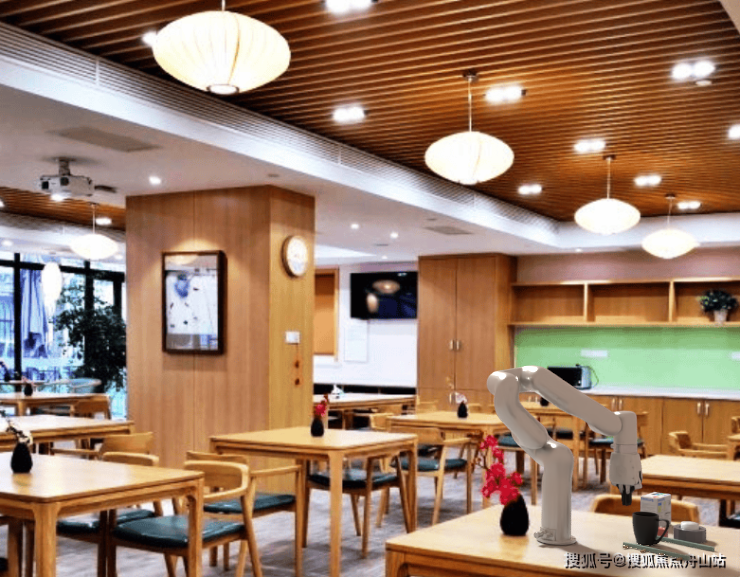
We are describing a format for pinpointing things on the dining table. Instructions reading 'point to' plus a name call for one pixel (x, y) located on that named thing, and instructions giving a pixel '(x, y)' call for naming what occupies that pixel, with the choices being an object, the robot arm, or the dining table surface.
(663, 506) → the light bulb box
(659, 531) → the die
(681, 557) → the track
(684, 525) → the button
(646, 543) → the mug
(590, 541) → the dining table surface
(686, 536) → the housing
